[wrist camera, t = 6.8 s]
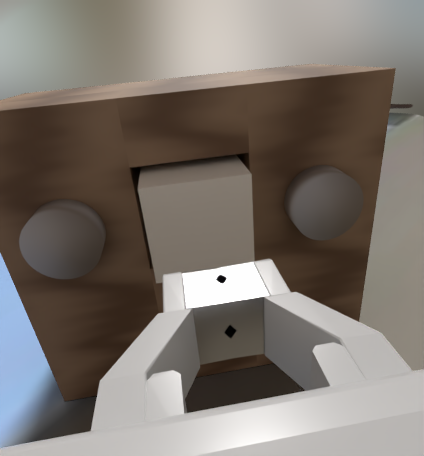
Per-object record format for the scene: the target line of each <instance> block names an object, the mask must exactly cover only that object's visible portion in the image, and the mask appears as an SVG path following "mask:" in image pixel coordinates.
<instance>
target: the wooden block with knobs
mask: <svg viewBox="0 0 424 456" xmlns="http://www.w3.org/2000/svg"><path fill="white" fill-rule="evenodd" d="M394 76H395V68H378V67H359V66H341V65H340V66H339V65H320V64H305V65H296V66H285V67H276V68H266V69H257V70H247V71H238V72H228V73H218V74H208V75H198V76H189V77H180V78H169V79H161V80H150V81H141V82H131V83H121V84H112V85H102V86H92V87H83V88H73V89H64V90H54V91H44V92H34V93H25V94H21V95H18V96H14V97H10V98H7V99H3V100H0V253H1V255H2V257H3V259H4V262H5V264H6V266H7V269H8V271H9V273H10V276H11V278H12V280H13V283H14V285H15V287H16V290H17V292H18V294H19V296H20V299H21V301H22V303H23V306H24V308H25V310H26V313H27V315H28V317H29V320H30V322H31V324H32V327H33V329H34V331H35V333H36V336H37V338H38V340H39V343H40V345H41V347H42V350H43V352H44V354H45V357H46V359H47V361H48V364H49V366H50V368H51V370H52V373H53V375H54V377H55V380H56V382H57V384H58V387H59V389H60V391H61V394H62V396H63V398H64V401H70V400H75V399H81V398H86V397H92V396H97V394H98V388H99V383H100V380H101V379H102V378H103V377H104V376H105V375H106V373H107V372H108V371H109V370H110V369H111V368H112V366H113V365H114V364H115V363H116V362H117V361H118V359H119V358H120V357H121V356H122V355H123V354H124V352H125V351H126V350H127V349H128V348H129V347H130V345H131V344H132V343H133V342H134V341H135V340H136V338H137V337H138V336H139V335H140V334H141V333H142V331H143V330H144V329H145V328H146V327H147V326H148V325H149V323H150V322H151V321H152V320H153V319H154V318H155V316H156V315H157V314H158V313H163V283H157V284H156V279H155V274H154V269H153V264H152V259H151V254H150V249H149V244H148V239H147V234H146V229H145V224H144V219H143V213H142V208H141V203H140V198H139V193H138V183H139V175H140V168H141V166H146V165H154V164H162V163H170V162H178V161H186V160H194V159H202V158H210V157H218V156H226V155H234V154H236V155H237V157H238V158H239V159H240V160H241V162H242V163H243V164H244V165H245V166H246V168H247V169H248V170H249V171H250V173H251V174H252V201H253V230H254V259H255V261H259V260H264V259H271V260H272V261H273V262H274V264H275V266H276V268H277V269H278V271H279V273H280V274H281V276H282V278H283V279H284V281H285V283H286V285H287V286H288V288H289V290H290V291H291V292H298V293H300V294H302V295H304V296H306V297H308V298H310V299H312V300H314V301H317V302H319V303H321V304H323V305H325V306H327V307H329V308H331V309H333V310H335V311H337V312H339V313H341V314H343V315H345V316H347V317H350V318H352V319H354V320H356V321H358V322H359V317H360V310H361V304H362V297H363V290H364V283H365V276H366V269H367V262H368V255H369V248H370V241H371V235H372V228H373V221H374V214H375V207H376V200H377V193H378V186H379V179H380V172H381V166H382V159H383V152H384V145H385V138H386V131H387V124H388V117H389V110H390V103H391V96H392V90H393V83H394ZM272 363H273V362H272V361H271V360H270V359H269V358H267V357H266V356H265V354H259V355H252V356H245V357H238V358H232V359H227V360H222V361H217V362H212V363H207V364H202V365H200V369H199V371H198V373H197V375H196V377H201V376H206V375H212V374H217V373H223V372H228V371H234V370H239V369H245V368H250V367H255V366H261V365H266V364H272Z"/></svg>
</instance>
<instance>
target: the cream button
mask: <svg viewBox="0 0 424 456" xmlns="http://www.w3.org/2000/svg"><path fill="white" fill-rule="evenodd" d="M138 193H139V198H140V203H141V208H142V213H143V219H144V224H145V229H146V234H147V239H148V244H149V249H150V254H151V259H152V264H153V269H154V274H155V279H156V284H157V283H163V280H162V277H163V274H170V273H176V272H181V273H182V272H184V271H192V270H200V269H208V268H216V267H218V268H219V267H225V266H231V265H237V264H243V263H249V262H253V261H255V259H254V230H253V201H252V174H251V173H250V171H249V170H248V169H247V168H246V166H245V165H244V164H243V163H242V162H241V160H240V159H239V158H238V157H237V155H236V154H234V155H226V156H218V157H210V158H202V159H194V160H186V161H178V162H170V163H162V164H154V165H146V166H141V168H140V175H139V183H138ZM182 278H183V276H182Z"/></svg>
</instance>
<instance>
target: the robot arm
mask: <svg viewBox="0 0 424 456" xmlns="http://www.w3.org/2000/svg"><path fill="white" fill-rule="evenodd" d="M182 276H183V278H182ZM162 280H163V313H158V314H157V315H156V316H155V318H154V319H153V320H152V321H151V322H150V323H149V325H148V326H147V327H146V328H145V329H144V330H143V331H142V333H141V334H140V335H139V336H138V337H137V338H136V340H135V341H134V342H133V343H132V344H131V345H130V347H129V348H128V349H127V350H126V351H125V352H124V354H123V355H122V356H121V357H120V358H119V359H118V361H117V362H116V363H115V364H114V365H113V366H112V368H111V369H110V370H109V371H108V372H107V373H106V375H105V376H104V377H103V378H102V379H101V380H100V383H99V388H98V394H97V399H96V405H95V410H94V416H93V421H92V427H91V431H88V432H83V433H78V434H72V435H67V436H62V437H56V438H51V439H46V440H40V441H35V442H29V443H24V444H19V445H13V446H8V447H3V448H0V456H424V369H422V370H416V371H412V370H411V369H410V367H409V366H408V365H407V364H406V362H405V361H404V360H403V359H402V358H401V356H400V355H399V354H398V353H397V351H396V350H395V349H394V348H393V346H392V345H391V344H390V343H389V342H388V340H387V339H386V338H385V337H384V335H383V334H382V333H381V332H378V331H376V330H374V329H372V328H370V327H368V326H366V325H364V324H362V323H360V322H358V321H356V320H354V319H352V318H350V317H347V316H345V315H343V314H341V313H339V312H337V311H335V310H333V309H331V308H329V307H327V306H325V305H323V304H321V303H319V302H317V301H314V300H312V299H310V298H308V297H306V296H304V295H302V294H300V293H298V292H291V291H290V290H289V288H288V286H287V285H286V283H285V281H284V279H283V278H282V276H281V274H280V273H279V271H278V269H277V268H276V266H275V264H274V262H273V261H272V260H271V259H264V260H259V261H253V262H249V263H243V264H237V265H231V266H225V267H219V268H218V267H216V268H208V269H200V270H192V271H184V272H182V273H181V272H176V273H170V274H163V277H162ZM259 354H265V356H266V357H267V358H269V359H270V360H271V361H272V362H273V363H274V364H276V365H277V366H278V367H279V368H280V369H281V370H282V371H284V372H285V373H286V374H287V375H288V376H289V377H290V378H292V379H293V380H294V381H295V382H296V383H297V384H299V385H300V386H301V387H302V388H303V389H304V390H305V391H302V392H297V393H292V394H286V395H281V396H276V397H270V398H265V399H260V400H254V401H249V402H244V403H238V404H233V405H228V406H222V407H217V408H212V409H206V410H201V411H196V412H190V413H187V408H186V402H185V398H186V396H187V394H188V392H189V390H190V388H191V386H192V383H193V381H194V379H195V377H196V375H197V373H198V371H199V369H200V365H202V364H207V363H212V362H217V361H222V360H227V359H232V358H238V357H245V356H252V355H259Z"/></svg>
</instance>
